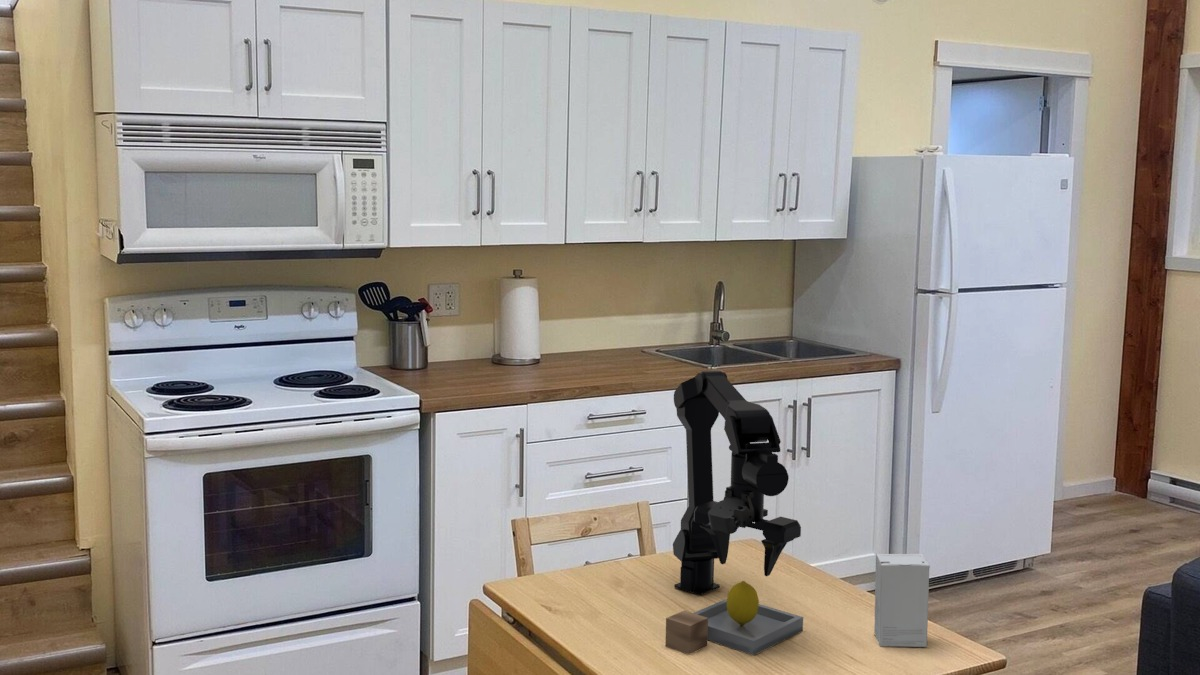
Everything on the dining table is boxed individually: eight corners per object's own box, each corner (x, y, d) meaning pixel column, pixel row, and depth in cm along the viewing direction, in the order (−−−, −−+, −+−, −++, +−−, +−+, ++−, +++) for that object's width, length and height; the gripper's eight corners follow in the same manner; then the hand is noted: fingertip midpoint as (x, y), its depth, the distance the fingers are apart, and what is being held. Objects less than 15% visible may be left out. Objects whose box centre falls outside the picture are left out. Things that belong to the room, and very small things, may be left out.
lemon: (756, 632, 203) (758, 587, 202) (724, 630, 204) (725, 585, 203) (758, 621, 208) (760, 577, 207) (727, 618, 209) (728, 574, 208)
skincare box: (920, 635, 206) (924, 552, 204) (927, 649, 200) (932, 564, 198) (871, 633, 206) (875, 551, 204) (877, 647, 200) (881, 562, 198)
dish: (732, 609, 217) (732, 596, 216) (802, 630, 207) (803, 617, 207) (681, 631, 206) (682, 617, 205) (753, 655, 196) (753, 641, 195)
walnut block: (683, 638, 203) (684, 610, 202) (707, 646, 200) (708, 617, 199) (665, 646, 199) (666, 618, 199) (689, 654, 196) (689, 626, 195)
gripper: (675, 480, 203) (673, 568, 205) (766, 500, 190) (763, 594, 192) (714, 469, 211) (711, 554, 213) (804, 487, 199) (800, 577, 201)
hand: (744, 569), depth 205 cm, fingers open, 9 cm apart
